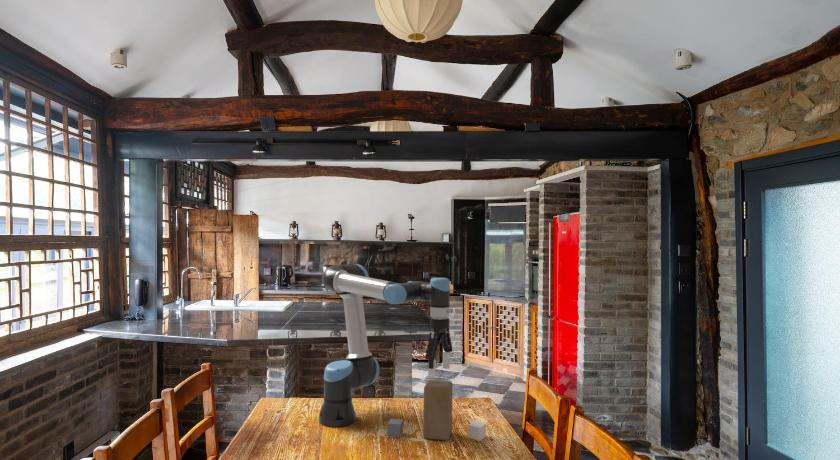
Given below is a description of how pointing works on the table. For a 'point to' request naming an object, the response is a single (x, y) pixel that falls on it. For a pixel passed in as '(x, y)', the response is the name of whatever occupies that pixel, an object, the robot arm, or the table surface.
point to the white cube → (477, 430)
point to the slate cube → (395, 427)
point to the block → (437, 410)
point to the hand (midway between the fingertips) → (439, 372)
